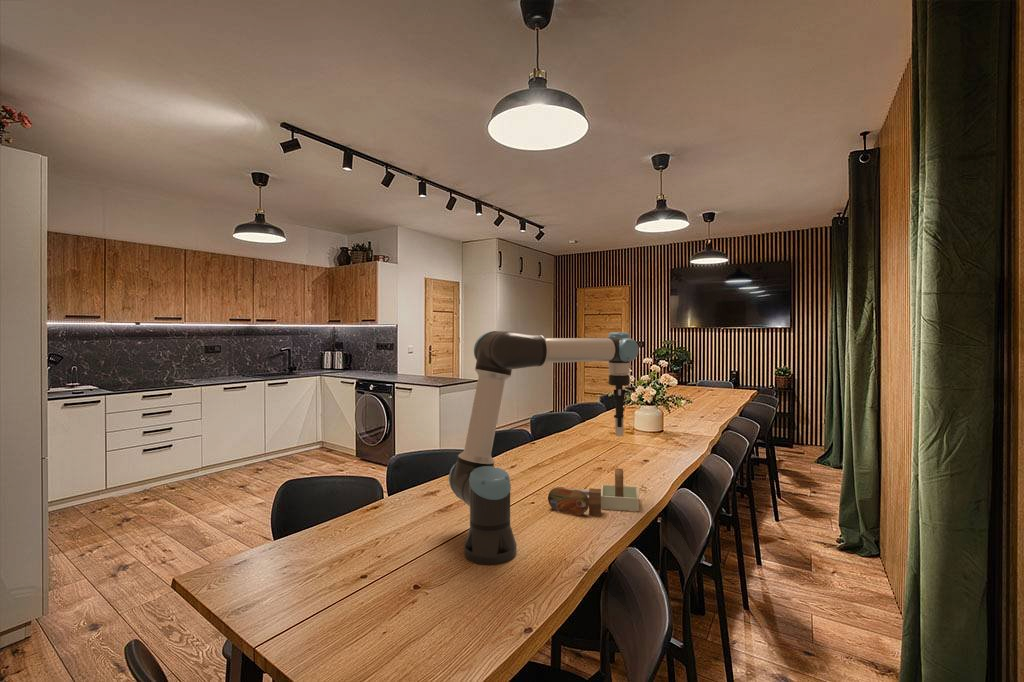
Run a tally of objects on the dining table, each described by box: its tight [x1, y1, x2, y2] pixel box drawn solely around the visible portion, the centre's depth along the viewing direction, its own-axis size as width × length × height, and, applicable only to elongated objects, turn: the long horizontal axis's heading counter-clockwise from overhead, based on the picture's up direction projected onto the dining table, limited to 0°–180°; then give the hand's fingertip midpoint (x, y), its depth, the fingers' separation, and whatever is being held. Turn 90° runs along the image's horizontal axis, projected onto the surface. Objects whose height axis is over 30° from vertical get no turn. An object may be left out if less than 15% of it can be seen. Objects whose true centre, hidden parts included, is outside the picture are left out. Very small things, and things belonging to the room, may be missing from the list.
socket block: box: [575, 488, 589, 499], centre depth 179 cm, size 9×9×3 cm
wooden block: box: [588, 487, 602, 517], centre depth 167 cm, size 4×4×8 cm
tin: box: [547, 486, 589, 516], centre depth 168 cm, size 15×3×8 cm, turn 58°
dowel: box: [614, 468, 624, 497], centre depth 176 cm, size 3×3×12 cm
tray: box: [600, 484, 640, 512], centre depth 176 cm, size 13×13×5 cm
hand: (619, 432), depth 175 cm, fingers open, 13 cm apart
